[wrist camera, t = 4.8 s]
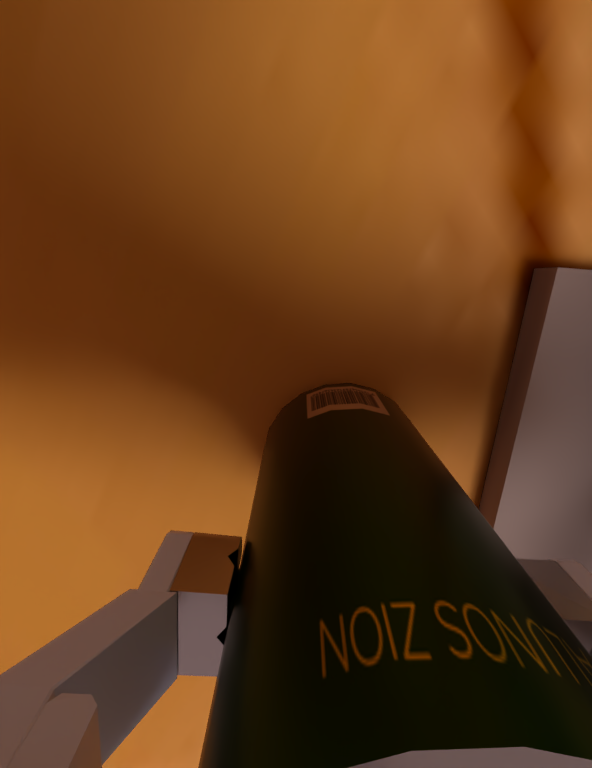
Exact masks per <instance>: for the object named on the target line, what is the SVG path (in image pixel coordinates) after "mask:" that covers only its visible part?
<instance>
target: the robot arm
mask: <svg viewBox="0 0 592 768" xmlns="http://www.w3.org/2000/svg"><path fill="white" fill-rule="evenodd" d="M241 555H242V537H238V536H228V535H218V534H207V533H197V532H195V533H193V532H184V531H172V530H171V531H170V532H169V533H168V534H166V536H165V538H164V540H163V542H162V544H161V546H160V548H159V550H158V552H157V554H156V555H155V557H154V559H153V561H152V563H151V565H150V567H149V569H148V571H147V573H146V575H145V577H144V578H143V580H142V582H141V584H140V586H139V588H138V590H137V589H129V590H128V591H126V592H125V593H123V594H122V595H120V596H119V597H117V598H116V599H114V600H113V601H111V602H110V603H108V604H107V605H105V606H104V607H102V608H101V609H99V610H98V611H96V612H95V613H93V614H92V615H90V616H89V617H87V618H86V619H84V620H83V621H81V622H79V623H78V624H76V625H75V626H73V627H72V628H70V629H69V630H67V631H66V632H64V633H63V634H61V635H60V636H58V637H57V638H55V639H54V640H52V641H51V642H49V643H48V644H46V645H45V646H43V647H42V648H40V649H39V650H37V651H36V652H34V653H33V654H31V655H30V656H28V657H27V658H25V659H24V660H22V661H21V662H19V663H18V664H16V665H15V666H13V667H12V668H10V669H9V670H7V671H6V672H4V673H2V674H1V675H0V768H102V765H103V763H104V762H105V761H106V760H107V759H108V758H109V756H110V755H111V754H112V753H113V752H114V751H115V750H116V748H117V747H118V746H119V745H120V744H121V743H122V741H123V740H124V739H125V738H126V737H127V736H128V734H129V733H130V732H131V731H132V730H133V729H134V727H135V726H136V725H137V724H138V723H139V722H140V721H141V719H142V718H143V717H144V716H145V715H146V714H147V712H148V711H149V710H150V709H151V708H152V707H153V705H154V704H155V703H156V702H157V701H158V700H159V698H160V697H161V696H162V695H163V694H164V693H165V692H166V690H167V689H168V688H169V687H170V686H171V685H172V683H173V682H174V681H175V680H176V679H177V675H193V676H217V675H218V670H219V665H220V661H221V656H222V651H223V646H224V641H225V636H226V631H227V627H228V622H229V617H230V612H231V607H232V602H233V598H234V593H235V588H236V583H237V578H238V573H239V565H240V560H241ZM516 559H517V560H518V562H519V563H520V564H521V566H522V567H523V568H524V569H525V571H526V572H527V573H528V575H529V576H530V577H531V578H532V580H533V581H534V582H535V584H536V585H537V586H538V588H539V589H540V590H541V591H542V593H543V594H544V595H545V597H546V598H547V599H548V601H549V602H550V603H551V604H552V606H553V607H554V608H555V610H556V611H557V612H558V614H559V615H560V616H561V617H562V619H563V620H564V621H565V623H566V624H567V625H568V627H569V628H570V629H571V630H572V632H573V633H574V634H575V636H576V637H577V638H578V639H579V641H580V642H581V643H582V645H583V646H584V647H585V649H586V650H587V651H588V652H589V654H590V655H591V656H592V574H591V573H590V572H589V571H588V570H587V569H586V568H585V567H584V566H583V565H581V564H580V563H578V562H576V561H574V560H557V559H549V560H543V559H528V558H516Z"/></svg>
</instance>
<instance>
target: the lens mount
mask: <svg viewBox="0 0 592 768" xmlns="http://www.w3.org/2000/svg"><path fill="white" fill-rule="evenodd" d="M479 511H480V512H481V514H482V515H483V516H484V517H485V519H486V520H487V521H488V523H489V524H490V525H491V527H492V528H493V529H494V530H495V532H496V533H497V534H498V536H499V537H500V538H501V540H502V541H503V542H504V543H505V545H506V546H507V547H508V549H509V550H510V551H511V553H512V554H513V555H514V556H515V558H528V559H543V560H549V559H557V560H574V561H576V562H578V563H580V564H581V565H583V566H584V567H585V568H586V569H587V570H588V571H589V572H590V573H591V574H592V270H585V269H573V268H561V267H553V268H534V273H533V277H532V281H531V285H530V290H529V294H528V298H527V303H526V307H525V311H524V316H523V320H522V324H521V329H520V333H519V337H518V342H517V346H516V350H515V355H514V359H513V363H512V368H511V372H510V376H509V381H508V385H507V389H506V394H505V398H504V402H503V407H502V411H501V415H500V420H499V424H498V428H497V432H496V437H495V441H494V445H493V450H492V454H491V458H490V463H489V467H488V471H487V476H486V480H485V484H484V489H483V493H482V497H481V502H480V506H479Z"/></svg>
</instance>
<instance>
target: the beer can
mask: <svg viewBox="0 0 592 768" xmlns="http://www.w3.org/2000/svg"><path fill="white" fill-rule="evenodd" d="M198 768H592V656H591V655H590V654H589V652H588V651H587V650H586V649H585V647H584V646H583V645H582V643H581V642H580V641H579V639H578V638H577V637H576V636H575V634H574V633H573V632H572V630H571V629H570V628H569V627H568V625H567V624H566V623H565V621H564V620H563V619H562V617H561V616H560V615H559V614H558V612H557V611H556V610H555V608H554V607H553V606H552V604H551V603H550V602H549V601H548V599H547V598H546V597H545V595H544V594H543V593H542V591H541V590H540V589H539V588H538V586H537V585H536V584H535V582H534V581H533V580H532V578H531V577H530V576H529V575H528V573H527V572H526V571H525V569H524V568H523V567H522V566H521V564H520V563H519V562H518V560H517V559H516V558H515V556H514V555H513V554H512V553H511V551H510V550H509V549H508V547H507V546H506V545H505V543H504V542H503V541H502V540H501V538H500V537H499V536H498V534H497V533H496V532H495V530H494V529H493V528H492V527H491V525H490V524H489V523H488V521H487V520H486V519H485V517H484V516H483V515H482V514H481V512H480V511H479V510H478V508H477V507H476V506H475V504H474V503H473V502H472V501H471V499H470V498H469V497H468V495H467V494H466V493H465V492H464V490H463V489H462V488H461V486H460V485H459V484H458V482H457V481H456V480H455V479H454V477H453V476H452V475H451V473H450V472H449V471H448V469H447V468H446V467H445V466H444V464H443V463H442V462H441V460H440V459H439V458H438V456H437V455H436V454H435V453H434V451H433V450H432V449H431V447H430V446H429V445H428V443H427V442H426V441H425V440H424V438H423V437H422V436H421V434H420V433H419V432H418V431H417V429H416V428H415V427H414V425H413V424H412V423H411V421H410V420H409V419H408V418H407V416H406V415H405V414H404V413H403V411H402V410H401V409H400V408H399V406H398V405H397V404H396V403H395V402H394V401H392V400H391V399H389V398H388V397H386V396H384V395H383V394H381V393H380V392H378V391H376V390H375V389H371V388H367V387H363V386H359V385H355V384H351V383H347V384H330V385H323V386H321V387H318V388H315V389H313V390H310V391H307V392H305V393H302V394H300V395H299V396H298V397H297V398H295V399H294V400H293V401H292V402H290V403H289V404H288V405H287V406H285V407H284V408H283V409H282V410H281V411H280V413H279V415H278V416H277V418H276V419H275V421H274V422H273V424H272V425H271V427H270V428H269V432H268V436H267V440H266V444H265V448H264V452H263V457H262V462H261V466H260V471H259V476H258V481H257V486H256V491H255V496H254V500H253V505H252V510H251V515H250V520H249V525H248V530H247V534H246V539H245V544H244V549H243V554H242V559H241V564H240V568H239V573H238V578H237V583H236V588H235V593H234V598H233V602H232V607H231V612H230V617H229V622H228V627H227V631H226V636H225V641H224V646H223V651H222V656H221V661H220V665H219V670H218V675H217V680H216V685H215V690H214V695H213V699H212V704H211V709H210V714H209V719H208V724H207V729H206V733H205V738H204V743H203V748H202V753H201V758H200V763H199V767H198Z"/></svg>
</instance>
